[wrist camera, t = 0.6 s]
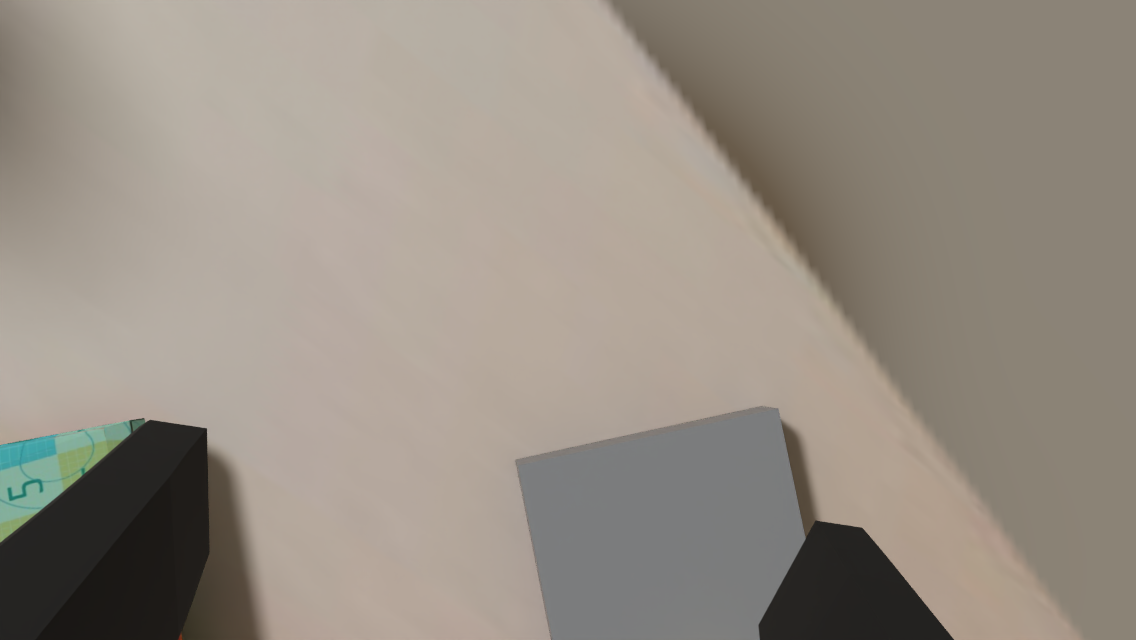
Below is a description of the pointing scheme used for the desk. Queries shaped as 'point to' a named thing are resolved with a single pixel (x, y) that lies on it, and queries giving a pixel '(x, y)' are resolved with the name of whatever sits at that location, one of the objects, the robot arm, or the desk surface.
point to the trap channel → (665, 530)
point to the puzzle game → (50, 468)
